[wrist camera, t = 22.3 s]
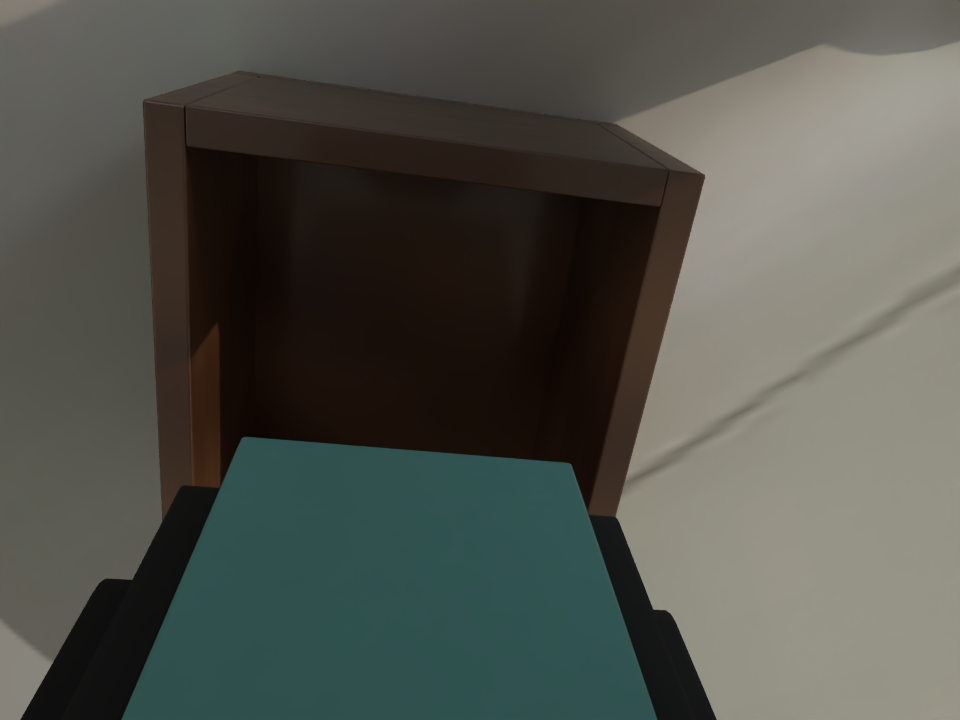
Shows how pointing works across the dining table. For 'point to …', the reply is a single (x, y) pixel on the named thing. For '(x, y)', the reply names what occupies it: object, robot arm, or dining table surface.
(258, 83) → the chest
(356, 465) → the block
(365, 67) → the dining table surface
